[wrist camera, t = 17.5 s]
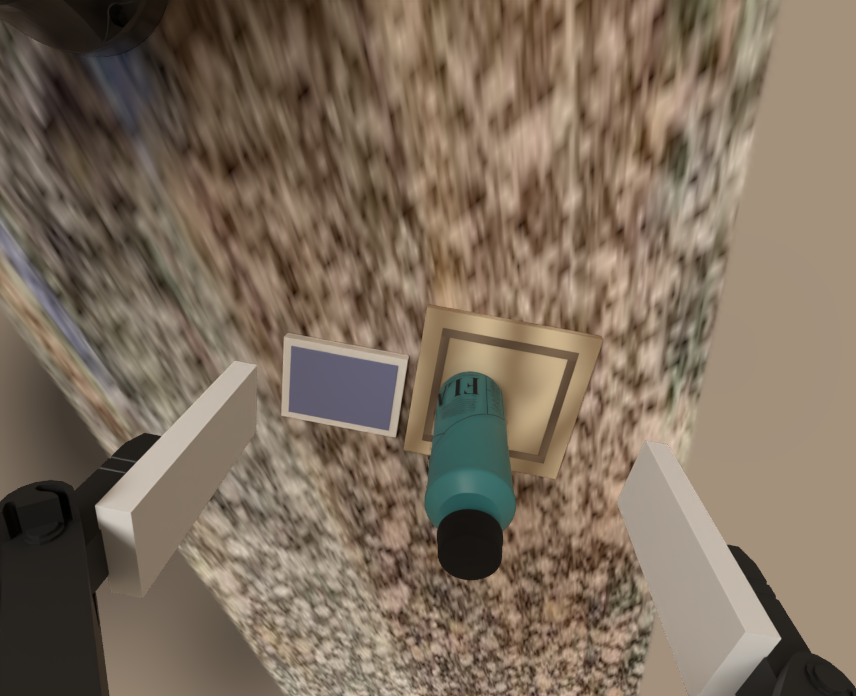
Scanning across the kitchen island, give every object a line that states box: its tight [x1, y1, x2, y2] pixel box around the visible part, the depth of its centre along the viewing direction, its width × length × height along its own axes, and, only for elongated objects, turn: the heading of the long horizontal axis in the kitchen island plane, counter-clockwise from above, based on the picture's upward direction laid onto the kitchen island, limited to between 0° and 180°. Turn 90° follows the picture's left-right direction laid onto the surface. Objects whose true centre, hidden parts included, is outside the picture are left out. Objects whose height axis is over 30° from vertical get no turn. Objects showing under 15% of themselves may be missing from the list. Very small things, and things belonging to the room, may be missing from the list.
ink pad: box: [281, 333, 409, 438], centre depth 48 cm, size 12×9×1 cm
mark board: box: [404, 304, 603, 479], centre depth 47 cm, size 16×16×1 cm
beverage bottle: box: [425, 371, 516, 580], centre depth 38 cm, size 6×7×20 cm
